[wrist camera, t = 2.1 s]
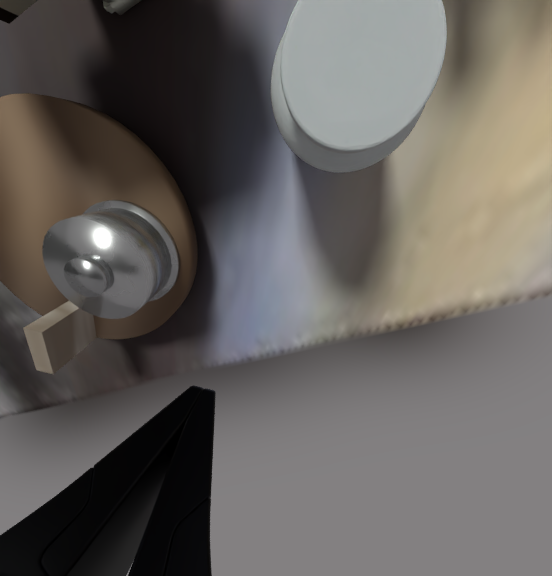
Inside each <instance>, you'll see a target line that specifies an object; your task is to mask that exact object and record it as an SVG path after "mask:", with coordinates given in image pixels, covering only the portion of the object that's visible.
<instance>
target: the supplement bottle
mask: <svg viewBox="0 0 552 576" xmlns="http://www.w3.org/2000/svg"><path fill="white" fill-rule="evenodd" d="M446 38H447V28H446V16H445V10H444V6H443V2H442V0H298V2H297V4H296V6H295V8H294V10H293V12H292V14H291V16H290V19H289V22H288V24H287V27H286V31H285V33H284V35H283V37H282V39H281V42H280V44H279V47H278V49H277V53H276V56H275V60H274V64H273V69H272V78H271V101H272V108H273V113H274V117H275V120H276V123H277V126H278V128H279V131H280V133H281V135H282V137H283V139H284V140H285V142H286V143H287V145H288V146H289V147H290V149H291V150H292V151H293V152H294V153H295V154H296V155H297V156H298V157H299V158H300V159H302V160H303V161H304V162H306V163H307V164H309V165H311V166H313V167H315V168H317V169H320V170H323V171H328V172H335V173H346V172H353V171H358V170H361V169H364V168H367V167H370V166H372V165H374V164H375V163H377V162H379V161H381V160H382V159H384V158H385V157H387V156H388V155H389V154H391V153H392V152H393V151H394V150H395V149H396V148H397V147H398V146H399V145H400V144H401V143H402V142H403V141H404V140H405V139H406V137H407V136H408V135H409V134H410V132H411V131H412V129H413V128H414V126H415V125H416V123H417V121H418V119H419V117H420V115H421V113H422V111H423V109H424V107H425V104H426V102H427V100H428V99H429V97H430V95H431V93H432V91H433V89H434V87H435V85H436V82H437V80H438V77H439V74H440V71H441V68H442V64H443V61H444V56H445V50H446Z"/></svg>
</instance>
